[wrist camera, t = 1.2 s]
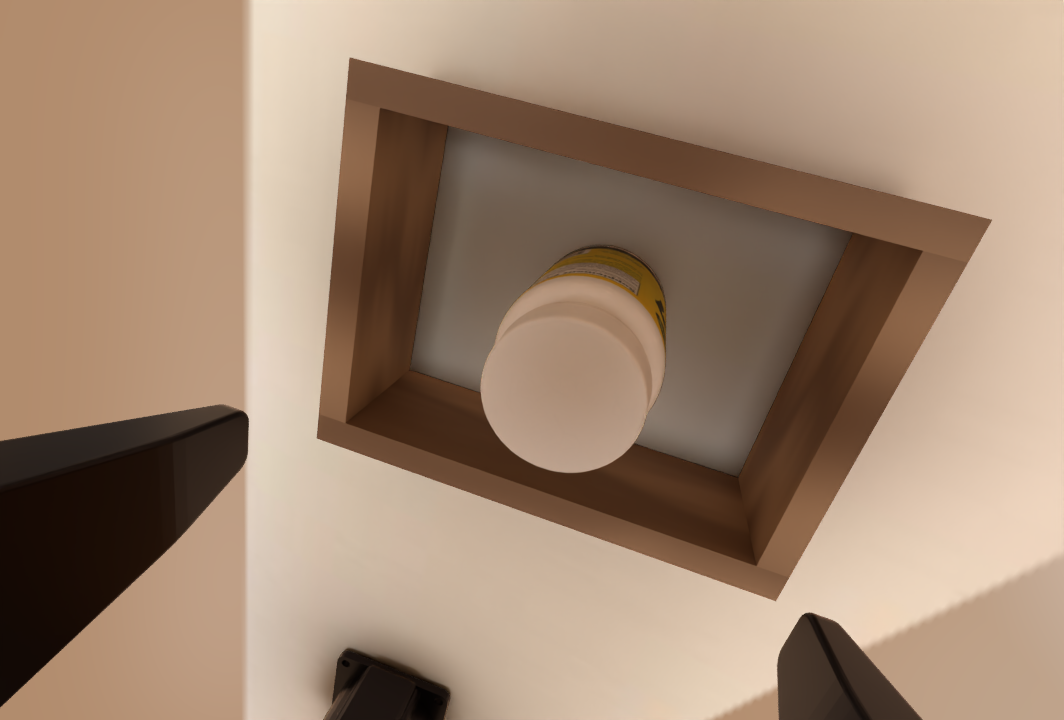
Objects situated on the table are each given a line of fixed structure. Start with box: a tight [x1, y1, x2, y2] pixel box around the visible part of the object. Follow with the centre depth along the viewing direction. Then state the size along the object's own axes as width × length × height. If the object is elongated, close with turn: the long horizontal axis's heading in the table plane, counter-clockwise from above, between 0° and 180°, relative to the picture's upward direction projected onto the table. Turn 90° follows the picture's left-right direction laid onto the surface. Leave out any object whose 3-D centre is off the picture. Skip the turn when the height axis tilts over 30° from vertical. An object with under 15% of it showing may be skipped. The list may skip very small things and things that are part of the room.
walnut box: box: [317, 58, 992, 601], centre depth 18 cm, size 12×16×5 cm
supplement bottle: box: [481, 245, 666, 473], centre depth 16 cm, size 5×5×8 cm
